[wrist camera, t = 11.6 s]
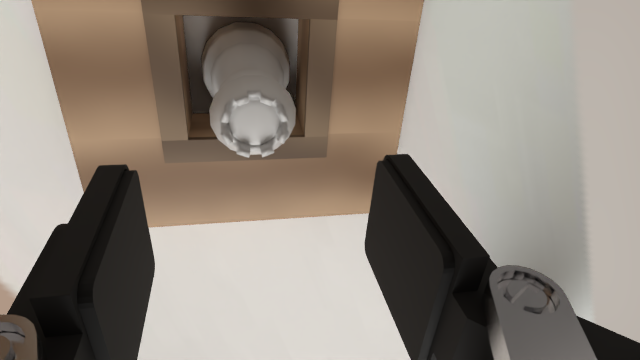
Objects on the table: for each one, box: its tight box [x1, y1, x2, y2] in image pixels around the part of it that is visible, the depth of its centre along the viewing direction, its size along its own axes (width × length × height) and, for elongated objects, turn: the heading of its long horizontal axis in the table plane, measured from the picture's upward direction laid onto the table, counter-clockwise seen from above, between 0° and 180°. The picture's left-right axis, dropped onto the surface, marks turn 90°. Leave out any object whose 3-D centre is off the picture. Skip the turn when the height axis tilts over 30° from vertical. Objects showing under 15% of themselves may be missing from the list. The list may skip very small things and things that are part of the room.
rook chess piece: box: [201, 22, 296, 158], centre depth 18 cm, size 4×4×8 cm
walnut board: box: [31, 0, 424, 227], centre depth 20 cm, size 16×16×3 cm
